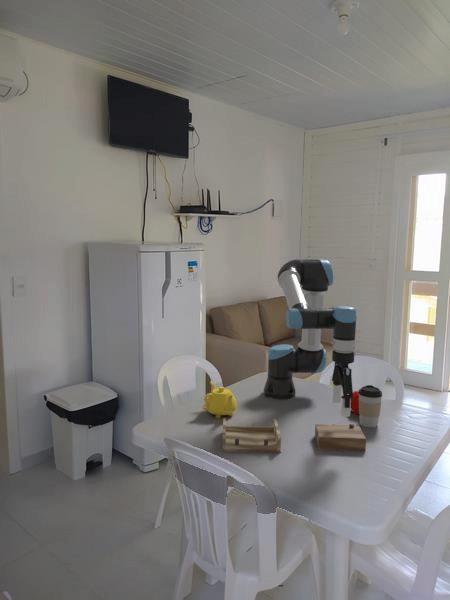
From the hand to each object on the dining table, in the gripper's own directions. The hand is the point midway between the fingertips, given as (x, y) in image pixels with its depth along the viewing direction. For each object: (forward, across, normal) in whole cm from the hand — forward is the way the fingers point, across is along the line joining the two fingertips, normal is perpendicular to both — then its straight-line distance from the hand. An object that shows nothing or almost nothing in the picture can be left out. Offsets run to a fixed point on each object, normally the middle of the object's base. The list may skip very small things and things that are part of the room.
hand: (341, 409), depth 160 cm
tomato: (+13, -30, +17) cm, 37 cm away
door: (+13, 0, 0) cm, 13 cm away
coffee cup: (+13, -18, +16) cm, 28 cm away
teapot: (+13, -26, -44) cm, 53 cm away
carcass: (+13, 0, -32) cm, 35 cm away
